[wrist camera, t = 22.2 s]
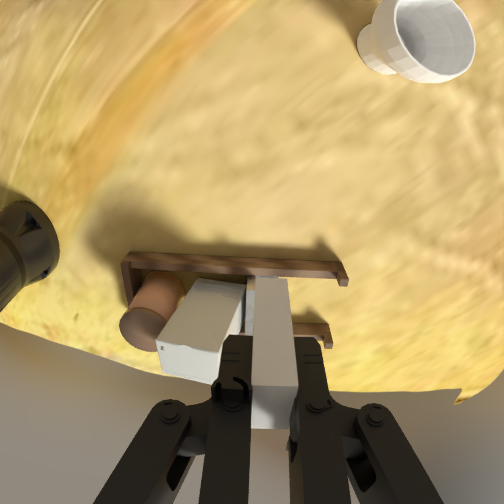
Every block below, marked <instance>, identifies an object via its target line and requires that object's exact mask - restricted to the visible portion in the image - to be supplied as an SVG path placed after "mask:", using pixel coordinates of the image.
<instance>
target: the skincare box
mask: <svg viewBox="0 0 504 504" xmlns="http://www.w3.org/2000/svg"><path fill="white" fill-rule="evenodd" d="M246 286H247V285H244V284H237V283H231V282H224V281H217V280H211V279H204V278H197V280H196V281H195V283H194V284H193V285H192V287H191V288H190V290H189V291H188V293H187V294H186V296H185V297H184V299H183V300H182V302H181V303H180V305H179V306H178V308H177V309H176V311H175V312H174V313H173V315H172V316H171V318H170V319H169V321H168V322H167V324H166V325H165V327H164V328H163V330H162V331H161V333H160V334H159V335H158V337H157V338H156V339H155V341H156V345H157V350H158V354H159V358H160V363H161V368H162V372H163V373H165V374H169V375H173V376H177V377H181V378H185V379H190V380H194V381H198V382H202V383H207V384H211V385H212V384H213V381H215V380H216V379H217V378H218V372H219V365H220V359H221V352H222V345H223V342H224V340H225V339H226V338H227V336H228V335H229V334H232V335H239V332H240V330H241V327H242V324H243V322H244V319H245V316H246Z"/></svg>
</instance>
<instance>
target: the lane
mask: <svg viewBox="0 0 504 504" xmlns="http://www.w3.org/2000/svg"><path fill="white" fill-rule="evenodd" d="M121 269H122V275H123V280H124V285H125V291H126V296H127V301H128V305H129V306H130V304H131V303H132V301H133V299H134V297H135V295H136V294H137V292H138V290H139V288H140V287H141V278H140V272H139V269H154V270H169V271H185V272H202V273H219V274H238V275H258V276H279V277H302V278H327V279H337V281H338V284H339V286H346V287H347V286H348V281H349V278H348V276H347V274H346V271H345V269H344V267H343V264H342V262H327V261H306V260H285V259H265V258H245V257H225V256H206V255H186V254H168V253H149V252H131V251H130V252H129V253H128V255H127V256H126V257H125V259H124V260H123V261H122V263H121ZM292 327H293V336H296V337H314V338H315V339H316V340H317V341H323V343H324V347H325V349H332V346H333V340H332V336H331V332H330V328H329V324H303V323H292ZM239 335H245V321H244V322H243V324H242V327H241V330H240V332H239Z"/></svg>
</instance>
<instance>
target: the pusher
mask: <svg viewBox="0 0 504 504" xmlns="http://www.w3.org/2000/svg"><path fill="white" fill-rule="evenodd" d="M256 277H259V278H278V276H258V275H248V278H247V292H246V318H245V335H249V336H253V317H254V299H255V281H256Z"/></svg>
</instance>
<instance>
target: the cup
mask: <svg viewBox="0 0 504 504" xmlns="http://www.w3.org/2000/svg"><path fill="white" fill-rule="evenodd" d="M357 48H358V52H359V54H360V57H361V59H362V60H363V61H364V63H365V64H366V65H367V66H368V67H370V68H371V69H372V70H374V71H376V72H378V73H381V74H395V73H399V74H401V75H402V76H404V77H406V78H407V79H410V80H413V81H416V82H419V83H441V82H445V81H449V80H451V79H453V78H455V77H457V76H459V75H460V74H462V73H463V72H465V71H466V70H467V69H468V68H469V66H470V65H471V63H472V61H473V58H474V55H475V37H474V32H473V29H472V27H471V25H470V22H469V20H468V18H467V17H466V15H465V14H464V12H463V11H462V10H461V8H460V7H459V6H458V5H457V4H456V3H455V2H454V1H453V0H382V2H381V3H380V4H379V5H378V6H377V7H376V10H375V12H374V15H373V17H372V22H371V24H368V25H367V26H365V27H364V28H363V29H362V30H361V31H360V33H359V35H358V38H357Z"/></svg>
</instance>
